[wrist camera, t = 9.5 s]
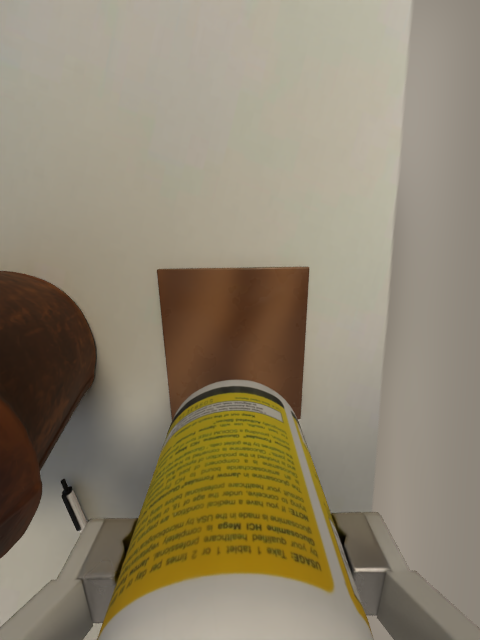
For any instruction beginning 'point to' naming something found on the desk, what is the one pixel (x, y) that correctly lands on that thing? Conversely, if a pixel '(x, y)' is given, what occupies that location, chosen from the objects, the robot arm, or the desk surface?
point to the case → (35, 389)
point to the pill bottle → (235, 532)
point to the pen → (73, 507)
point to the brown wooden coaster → (234, 328)
